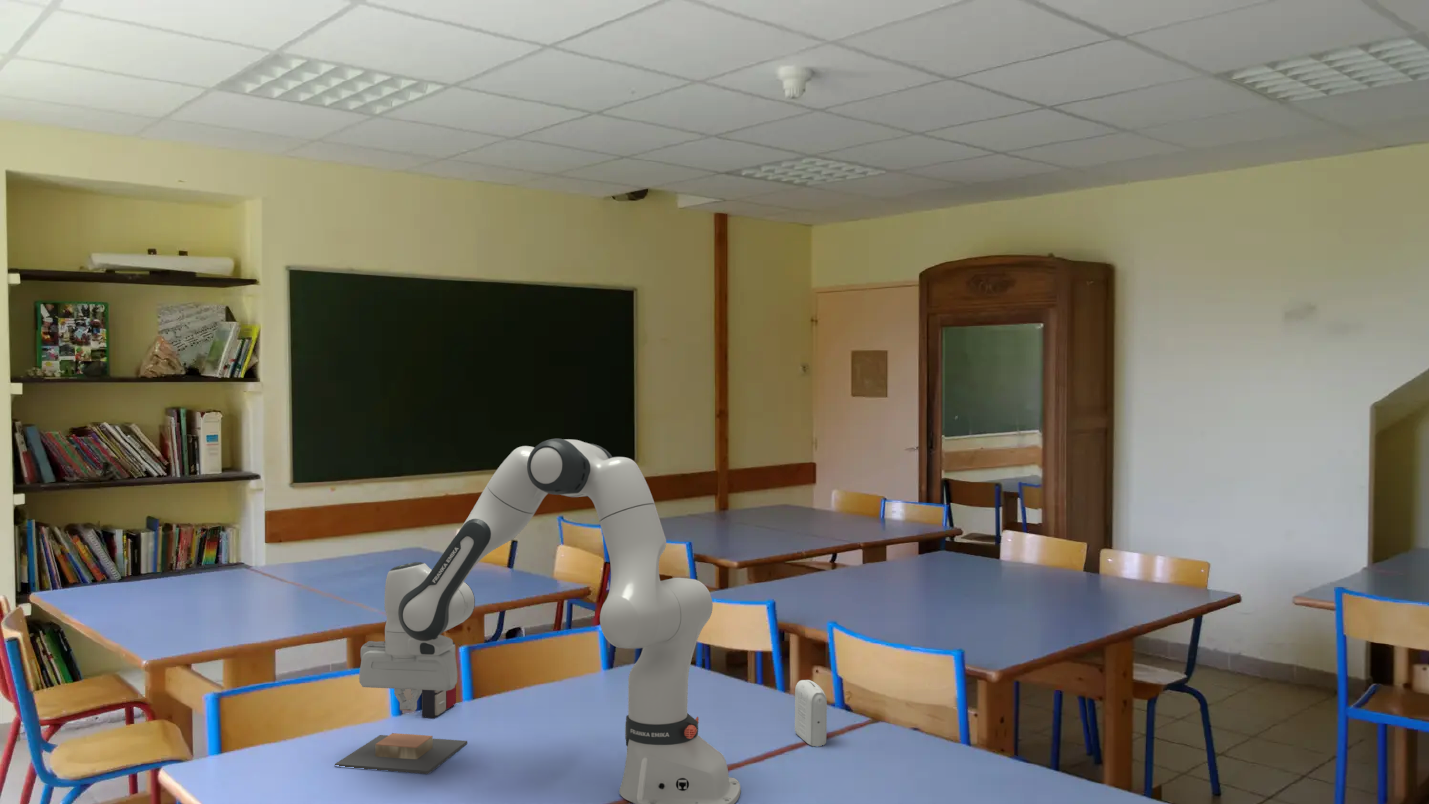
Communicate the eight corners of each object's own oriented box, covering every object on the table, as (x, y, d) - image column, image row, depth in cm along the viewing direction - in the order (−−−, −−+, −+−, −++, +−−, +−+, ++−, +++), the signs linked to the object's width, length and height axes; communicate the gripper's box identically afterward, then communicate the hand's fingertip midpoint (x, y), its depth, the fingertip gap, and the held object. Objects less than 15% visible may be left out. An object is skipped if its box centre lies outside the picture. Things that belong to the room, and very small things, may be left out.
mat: (467, 743, 222) (467, 740, 222) (428, 774, 204) (428, 771, 204) (380, 737, 226) (380, 734, 226) (334, 766, 208) (334, 763, 208)
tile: (432, 735, 218) (392, 733, 219) (416, 747, 211) (375, 744, 212) (432, 747, 218) (392, 744, 219) (416, 759, 211) (375, 756, 212)
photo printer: (829, 746, 221) (829, 687, 221) (810, 748, 220) (810, 689, 220) (810, 730, 231) (810, 674, 231) (792, 732, 230) (792, 676, 229)
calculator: (436, 718, 239) (436, 653, 239) (419, 717, 240) (419, 652, 240) (458, 704, 250) (457, 641, 249) (441, 703, 250) (441, 641, 250)
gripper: (352, 644, 213) (353, 712, 213) (446, 647, 209) (447, 716, 209) (368, 637, 219) (369, 703, 219) (460, 640, 216) (461, 707, 216)
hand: (408, 709), depth 214 cm, fingers closed
